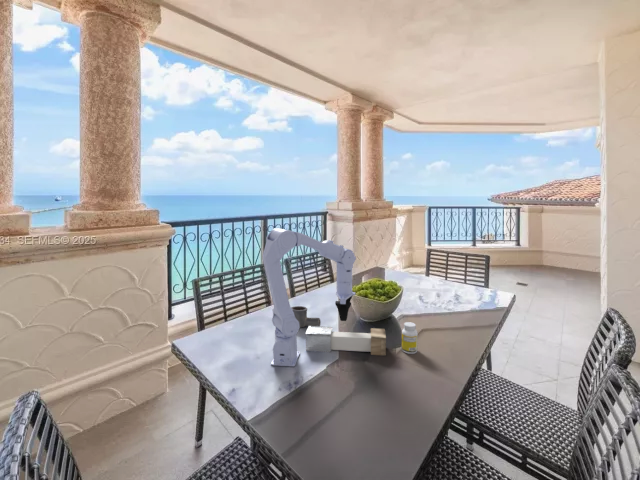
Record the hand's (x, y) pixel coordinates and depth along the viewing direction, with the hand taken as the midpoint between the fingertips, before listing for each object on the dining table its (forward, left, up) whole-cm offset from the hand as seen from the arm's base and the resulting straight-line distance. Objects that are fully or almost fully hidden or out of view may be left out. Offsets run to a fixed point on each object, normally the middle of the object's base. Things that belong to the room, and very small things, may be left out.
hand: (344, 316), depth 119 cm
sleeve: (-5, +8, -10) cm, 14 cm away
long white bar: (-5, -3, -10) cm, 11 cm away
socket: (-5, -12, -10) cm, 17 cm away
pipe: (+13, +17, -10) cm, 24 cm away
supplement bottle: (-4, -23, -10) cm, 26 cm away
